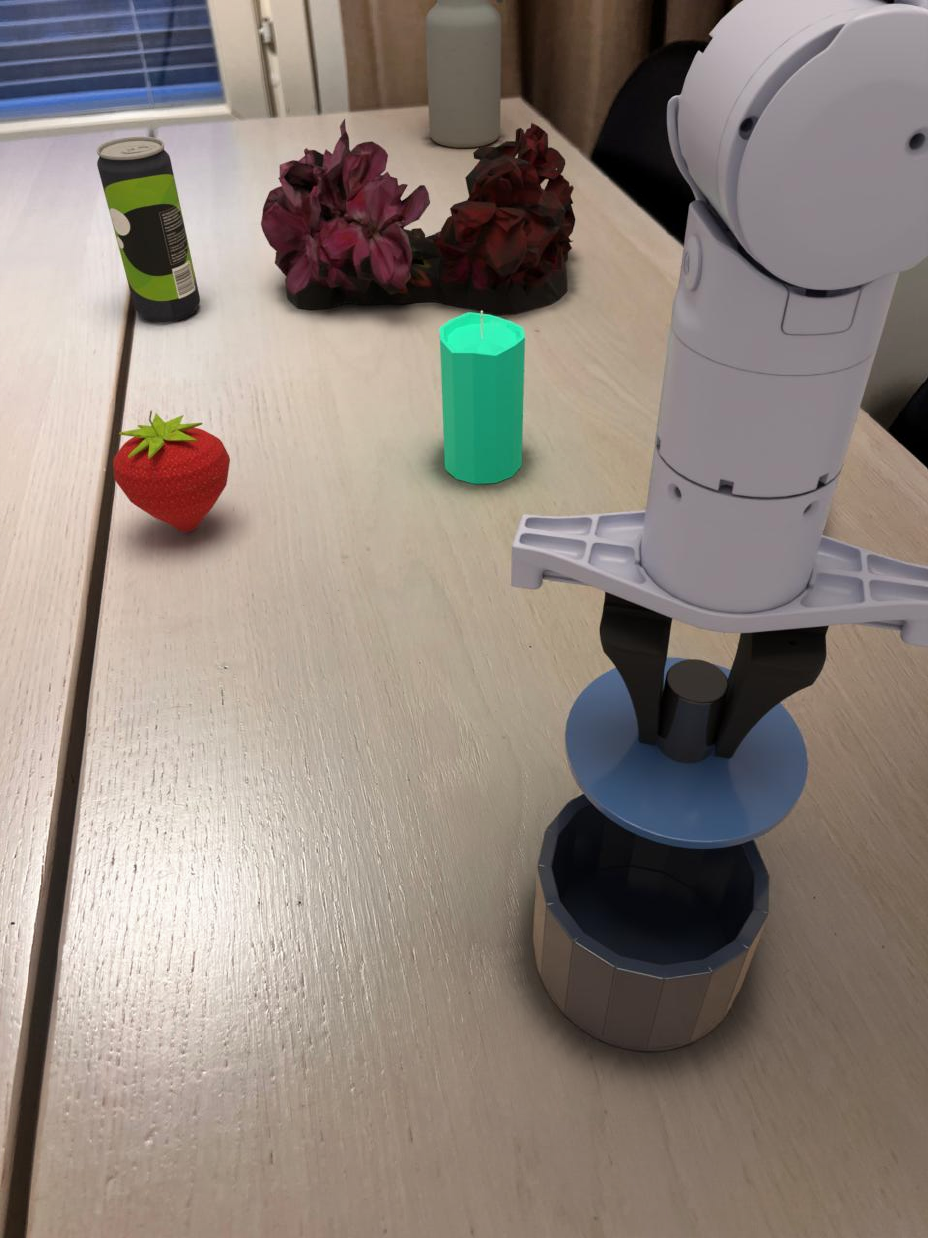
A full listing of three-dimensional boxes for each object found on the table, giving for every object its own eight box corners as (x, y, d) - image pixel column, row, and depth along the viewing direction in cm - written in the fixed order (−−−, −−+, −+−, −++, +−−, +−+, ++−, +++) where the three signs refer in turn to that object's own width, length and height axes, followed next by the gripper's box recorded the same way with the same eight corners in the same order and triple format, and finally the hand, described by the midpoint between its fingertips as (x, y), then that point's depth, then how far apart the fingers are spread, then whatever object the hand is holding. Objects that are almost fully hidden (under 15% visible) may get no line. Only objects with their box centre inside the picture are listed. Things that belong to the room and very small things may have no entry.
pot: (744, 883, 45) (771, 801, 41) (735, 1076, 39) (767, 1003, 34) (553, 844, 47) (560, 762, 43) (515, 1022, 41) (518, 947, 36)
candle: (433, 448, 74) (427, 299, 66) (506, 434, 75) (508, 287, 67) (456, 490, 70) (452, 336, 61) (533, 475, 71) (539, 322, 63)
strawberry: (245, 548, 65) (217, 420, 58) (132, 564, 64) (90, 436, 57) (242, 499, 69) (215, 374, 62) (136, 513, 68) (97, 388, 61)
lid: (800, 693, 42) (826, 615, 39) (803, 881, 35) (834, 805, 32) (582, 658, 44) (589, 581, 41) (544, 831, 37) (549, 754, 34)
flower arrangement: (555, 236, 105) (563, 85, 95) (601, 314, 91) (616, 145, 80) (271, 258, 102) (247, 104, 92) (271, 342, 87) (243, 170, 77)
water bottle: (499, 126, 136) (501, -122, 117) (506, 147, 128) (509, -113, 109) (428, 129, 135) (418, -120, 116) (431, 150, 128) (421, -111, 109)
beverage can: (195, 292, 96) (160, 131, 86) (207, 317, 92) (172, 151, 81) (132, 304, 94) (89, 140, 84) (141, 330, 90) (97, 161, 80)
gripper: (979, 406, 31) (868, 691, 40) (541, 363, 34) (531, 638, 43) (1016, 536, 26) (879, 827, 35) (499, 472, 29) (497, 758, 38)
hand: (687, 732), depth 39 cm, fingers closed on lid, 2 cm apart
